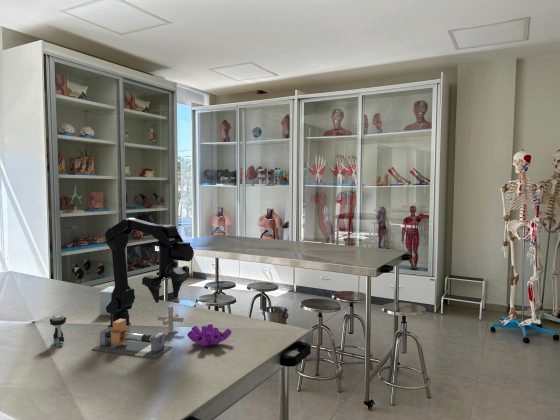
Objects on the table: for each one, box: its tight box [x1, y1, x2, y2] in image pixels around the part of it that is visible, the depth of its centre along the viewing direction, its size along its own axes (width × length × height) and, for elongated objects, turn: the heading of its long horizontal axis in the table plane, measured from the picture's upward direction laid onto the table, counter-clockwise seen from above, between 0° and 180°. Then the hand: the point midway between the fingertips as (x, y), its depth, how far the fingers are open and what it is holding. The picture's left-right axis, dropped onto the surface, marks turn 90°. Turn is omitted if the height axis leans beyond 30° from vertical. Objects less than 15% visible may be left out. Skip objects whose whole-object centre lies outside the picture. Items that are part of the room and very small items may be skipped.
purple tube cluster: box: [186, 323, 232, 347], centre depth 151 cm, size 11×15×10 cm
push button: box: [48, 314, 67, 347], centre depth 150 cm, size 7×5×10 cm
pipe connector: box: [157, 305, 185, 333], centre depth 163 cm, size 10×10×10 cm
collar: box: [111, 319, 129, 346], centre depth 148 cm, size 3×5×8 cm, turn 165°
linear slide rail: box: [99, 326, 165, 354], centre depth 146 cm, size 22×5×5 cm, turn 75°
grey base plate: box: [91, 340, 173, 360], centre depth 147 cm, size 25×10×1 cm, turn 75°
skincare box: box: [99, 285, 115, 316], centre depth 188 cm, size 10×6×10 cm, turn 179°
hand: (166, 299), depth 159 cm, fingers open, 9 cm apart
